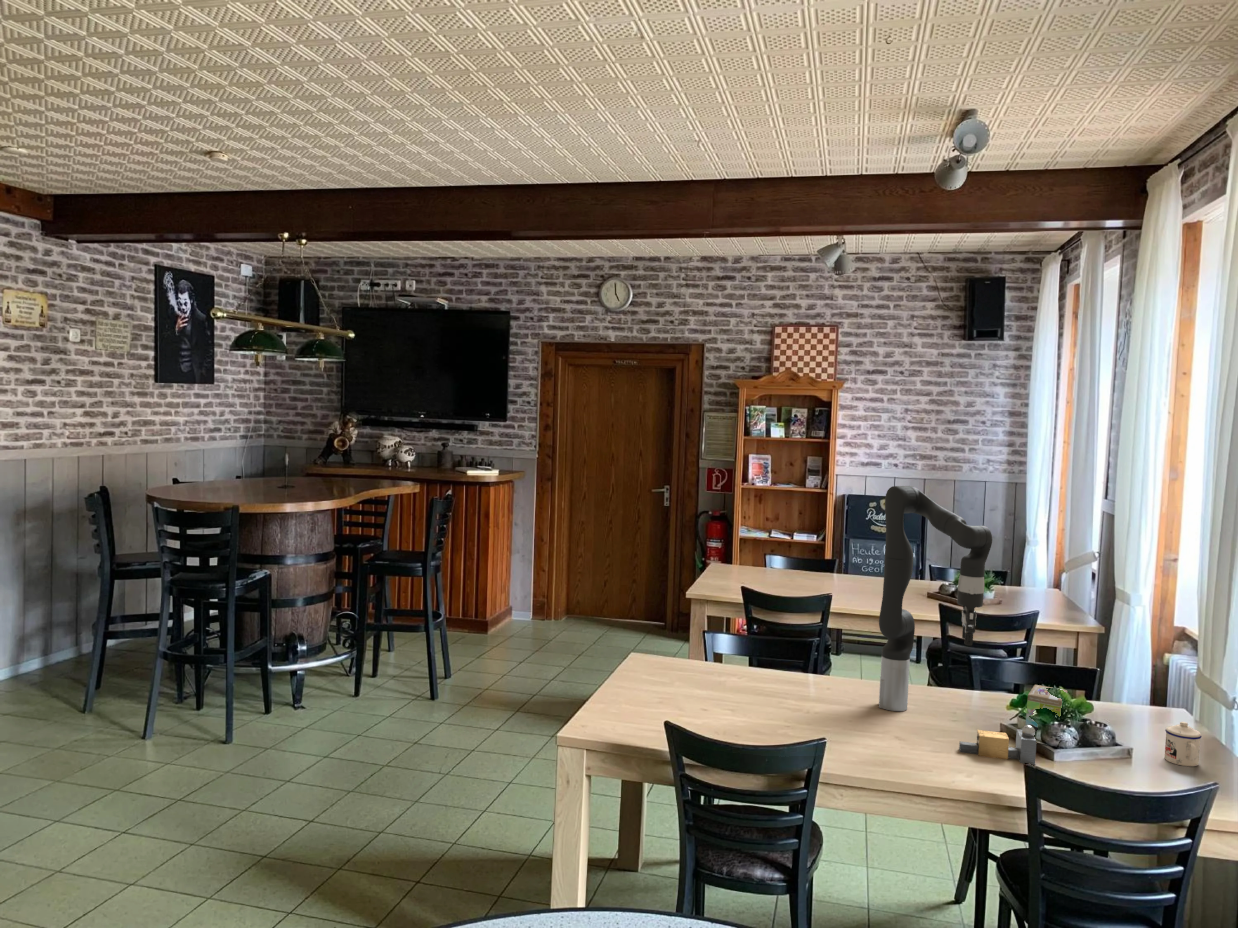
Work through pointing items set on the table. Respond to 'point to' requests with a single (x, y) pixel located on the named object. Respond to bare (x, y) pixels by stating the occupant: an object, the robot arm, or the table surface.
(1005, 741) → the tan wooden block
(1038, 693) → the tea box
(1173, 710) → the table surface
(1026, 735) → the coupler rail
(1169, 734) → the teacup with lid
